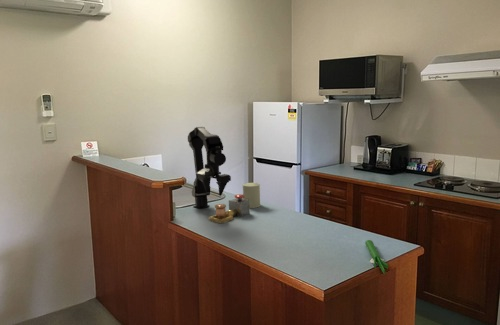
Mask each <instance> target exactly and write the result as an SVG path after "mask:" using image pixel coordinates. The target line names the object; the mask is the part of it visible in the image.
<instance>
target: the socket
mask: <svg viewBox="0 0 500 325" xmlns="http://www.w3.org/2000/svg"><path fill="white" fill-rule="evenodd" d="M232 220H234V216H231V215H227V214H226V218H223V219H217V218H216V214H215V215H212V216H211V215H210V216H208V221H210V222H215V223H218V224H223V223H226V222H230V221H232Z"/></svg>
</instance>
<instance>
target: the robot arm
mask: <svg viewBox="0 0 500 325" xmlns="http://www.w3.org/2000/svg"><path fill="white" fill-rule="evenodd" d="M187 142H188V145H189V148H191V150H192V152H193V162H194V170H195V179H194V181H193V186H192V190H191V196H192V197H193V198H194V203H195V205H193V206H192V207H193V208H196V209H201V210H202V209H204V208H210V207H211V206H210V204H208V203H209V202H208V201H209V200H208V196H210V194H211V179H215V180H216V184H217V185H218V195H219V196H222V195H223V192H224V190H225V189H226V186H227V184H228V183H230V181H232V176H231V175H230V174H228V173H227V174H226V173H224V174H222V172H221V171H220V167H221V166H222V165H224V164H225V163H226V161H227V160H226V159H227V157H226V154H224V153H222V151H224V145H223V141H222V139H221V138H220V136H219V135H218V134H214V133H213V134H212V133H210V132H209V131H208V129H206V127H205V126H196V127H194V128H193V129H192V130H191V131H190V132H189V133H188V135H187ZM203 148H204V149H205V152H206V164H204V159H203V158H204V156H203Z"/></svg>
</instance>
